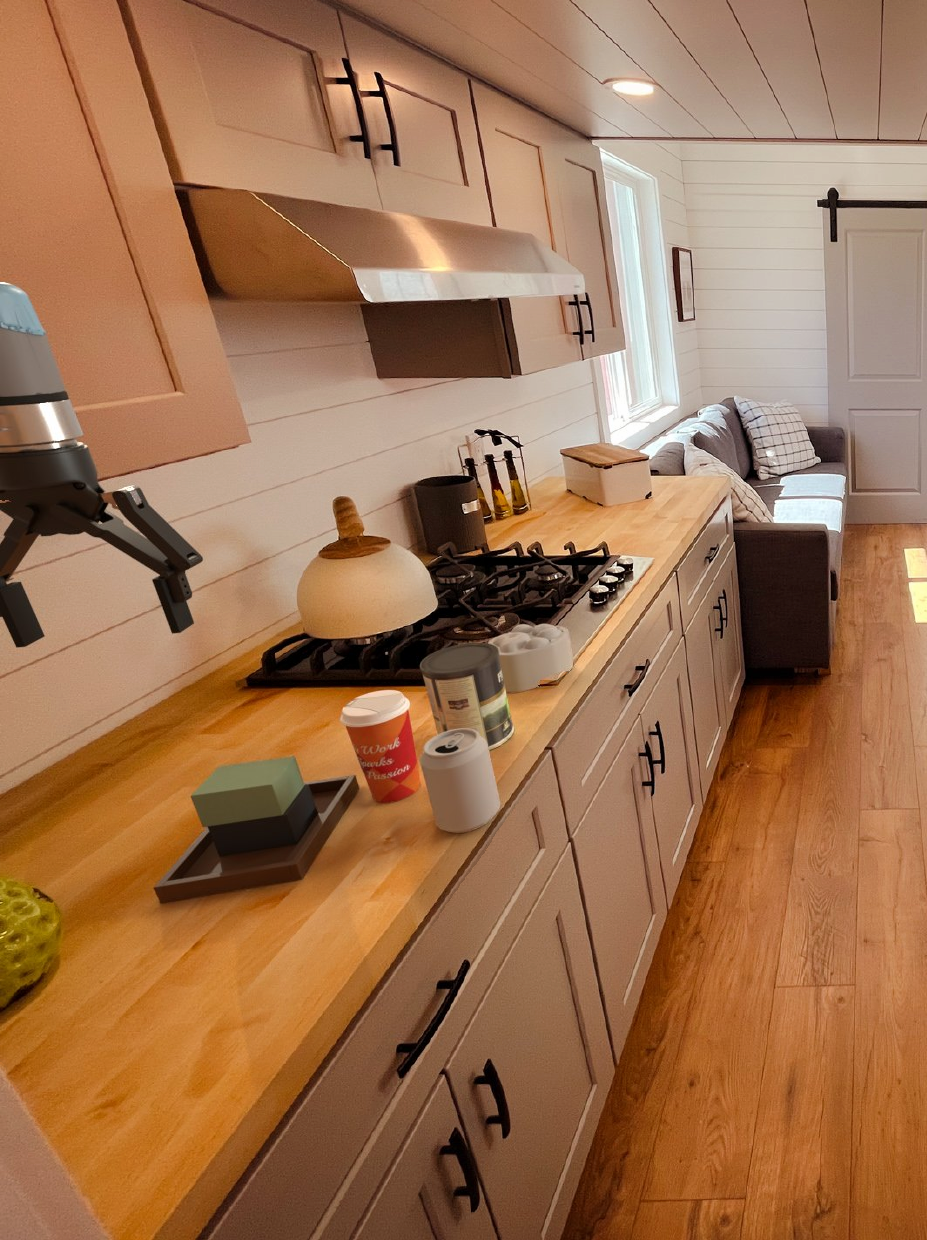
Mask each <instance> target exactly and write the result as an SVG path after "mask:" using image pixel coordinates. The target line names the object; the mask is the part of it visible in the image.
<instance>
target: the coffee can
mask: <svg viewBox="0 0 927 1240" xmlns="http://www.w3.org/2000/svg"><path fill="white" fill-rule="evenodd" d="M419 670H420V672H421V673H422V677H423V681H424V685H425V689H426V692H427V697H428V702H429V705H430V708H431V709H430V710H431V713H432V717H433V721H434V725H435V728H436V733H437V735H438V734H441V733H443V732H446V731H449V730H453V729H460V728H469V729H474V730H476V731H477V732H479V735H480V736H481V737H482V738H484V739H485V740H486V742H487V744H488V749H489V751H491V750H494V749H496V748H498V747H500V746H501V745H503V744H505V743H506V742H507V741H508V740H509V739H511V737H512V736H513V734H514V732H515V726H514V723H513V719H512V714H511V709H510V706H509V701H508V700H509V699H508V695H507V692H506V689H505V684H504V679H503V675H502V669H501V665H500V660H499V650H498V648H497V647H496V646H494V645H492V644H488V642H465V643H461V644H455V645H451V646H447V647H445V648H441V649H439V650H437V651H434V652H433V653H430V654H428V655H427V656H426V657H424V658H423V659H422V661H420V664H419Z"/></svg>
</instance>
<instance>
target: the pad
mask: <svg viewBox="0 0 927 1240" xmlns="http://www.w3.org/2000/svg"><path fill="white" fill-rule="evenodd" d="M304 782H305V781H304V779H303V776H302V773H301V770H300V767H299V764H298V760H297V757H296V756H295V755H292V756H285V757H278V758H270V759H269V758H268V759H262V760H254V761H247V762H239V763H233V764H232V763H231V764H225V765H218V767H216V768H215V769H214V770H213V772H212V773H211V774H209V776H208V777H207V778H206V779H205V780H204V781H203V782H201V784H200V785H199V786H198V787H197V788H196V790H194V791H193V792H192V793H191V795H190V799H191V802H192V804H193V806H194V809H195V811H196V814H197V817H198V819H199V822H200V824H201V827H202V828H206V827H207V826H214V825H221V824H227V823H234V822H240V821H247V820H253V819H260V818H266V817H273V816H280V815H283V814H284V812H285V811H286V810H287V808H288V807H289V806H290V804H291V803H292V802H293V800H294V799H295V798H296V796H297V795H298V794H299V792H300V791H301V790H302V788H303V787H304Z"/></svg>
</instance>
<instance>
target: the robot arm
mask: <svg viewBox="0 0 927 1240" xmlns="http://www.w3.org/2000/svg"><path fill="white" fill-rule="evenodd" d="M83 436H84V432H83V429H82V426H81V424H80V422H79V419H78V416H77V415H76V412H75V409H74V406H73V404H72V401H71V399H70V396H69V394H68V392H67V389H66V386H65V384H64V381H63V378H62V375H61V371H60V369H59V367H58V364H57V361H56V359H55V356H54V353H53V350H52V347H51V344H50V341H49V339H48V334H47V332H46V330H45V329H44V328H43V326H42V324H41V321H40V320H39V317H38V315H37V313H36V311H35V308H34V306H33V303H32V301H31V299H30V296H29V295H28V294H27V292H26V291H24V290H23V289H22V288H20V287H19V286H17V285H15V284H12V283H8V282H2V281H1V282H0V500H2V501H5V500H9V501H11V502H6V503H0V511H1V512H2V513H4V514H5V515H6V516H8V517H9V518H11V519H12V521H11V522H10V523H9V525H8V527H7V528H6V530H5V531H4V533H3V534H2V535H3V539H2V540H1V542H0V618H2V619H3V622H4V624H5V626H6V628H7V630H8V633H9V634H10V637H11V639H12V641H13V643H14V646H15V648H26V647H28V646H30V645H31V644H33V643H36V642H38V641H39V640H41V639H43V638H45V637H46V636H45V632H44V631H43V628H42V626H41V623H40V622H39V620H38V617H37V614H36V613H35V610H34V608H33V606H32V604H31V602H30V599H29V597H28V595H27V592H26V590H25V588H24V585H23V583H22V581H12V580H14V579H15V577H12V576H13V575H14V573H15V572H16V570H17V568H18V567H19V565H20V564H21V563H22V561H23V559H24V558H25V557H26V555H27V553H28V552H29V550H30V549H31V547H32V546H33V545H34V543H35V541H36V540H37V538H38V537H39V536H40V537H52V536H56V535H59V534H61V535H67V536H68V535H69V536H71V535H72V536H74V535H80V534H82V533H86V534H87V535H89V536H91V537H93V538H97V539H101V540H102V541H104V542H106V543H107V544H109V545H111V546H112V547H114V548H115V549H117V550H118V551H120V552H122V553H123V554H125V555H127V556H128V557H130V558H132V559H133V560H135V561H136V562H138V563H139V564H141V565H143V566H145V567H146V568H148V569H149V570H151V571H152V572H155V573H156V574H158V576H155V577H154V578H152V579H151V581H152V584H153V586H154V590H155V592H156V595H157V598H158V600H159V603H160V606H161V608H162V610H163V613H164V614H163V615H164V616H165V618H166V621H167V625H168V627H169V629H170V632H171V634H172V635H173V634H181V633H182V632H184V631H186V630H187V629H188V628H190V627H191V626H193V625H194V624H195V622H194V618H193V615H192V613H191V610H190V607H189V604H188V600H190V599H192V598H193V591H192V589H191V586H190V583H189V579H188V577H187V574H186V571H188V570H190V569H191V568H194V567H195V566H198V565H199V564H201V563H202V562H203V561H204V558H203V556H202V555H201V554H200V553H199V551H197V549H195V547H193V546H192V545H191V544H190V543H189V542H188V541H187V540H186V539H185V538H184V537H183V535H181V534H180V533H179V532H178V531H177V530H176V529H175V528H174V527H172V525H170V523H168V521H167V520H165V519H164V518H163V517H162V516H161V515H160V514H159V513H158V511H156V510H155V509H154V508H153V507H152V506H151V505H150V504H149V502H148V500H147V498H146V496H145V494H144V492H143V490H142V489H141V488H140V487H139V486H138V485H128V486H126V487H123V488H120V489H114V490H105V489H104V488H103V487H102V486H101V485H100V483H99V479H98V475H99V474H98V469H97V467H96V464H95V462H94V459H93V456H92V454H91V451H90V449H89V446H88V444H85V443H84V442H82V441H80V442H79V441H78V440H80V438H82V437H83ZM109 504H110V505H111V508H112V509H113V510H117V511H119V512H120V514H121V515H122V516H123V517H124V518H125V519H126V520H127V521H128V522H129V523H130V524H131V525H132V527H134V528H136V530H137V531H136V530H134V529H133V528H131V527H129V526H128V525H126V524H125V523H124V520H123V519H121V518H120V517H119V516H117V515H115V514H114V513H113V512H111V511H109V510H108V509H107V507H108V506H109ZM138 531H139V532H140V533H141V534H140V533H139V532H138ZM10 581H12V582H10ZM7 582H10V583H7Z"/></svg>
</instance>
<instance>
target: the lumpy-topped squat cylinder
mask: <svg viewBox="0 0 927 1240" xmlns="http://www.w3.org/2000/svg"><path fill="white" fill-rule="evenodd" d="M487 643H488V644H492V645H494V646H496V647H497V648H498V650H499V660H500V665H501V669H502V675H503V679H504V684H505V689H506V693H510V694H511V693H522V692H526V691H529V690H533V689H536V687H537V688H540V687H539V686H538V685H540V684H539V682H540V680H541V679H543V678H545V677H548V676H550V675H553V674H556V673H558V672H561V671H570V670H571V668H572V666H573V660H574V655H573V649H572V643H571V636H570V631H569V629H568V628H567V627H565V626H562V625H552V624H549V623H540V624H538V625H534V626H532V625H529V624H527V623H526V624H525V623H522V624H517V625H516V626H514V627H513V628H512V629H511V631H510V632H507V633H503V634H500V635H498V636H495V637H494V638H492V639H490V640H489V641H488V642H487ZM571 671H572V670H571ZM571 671H570V672H571Z"/></svg>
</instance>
